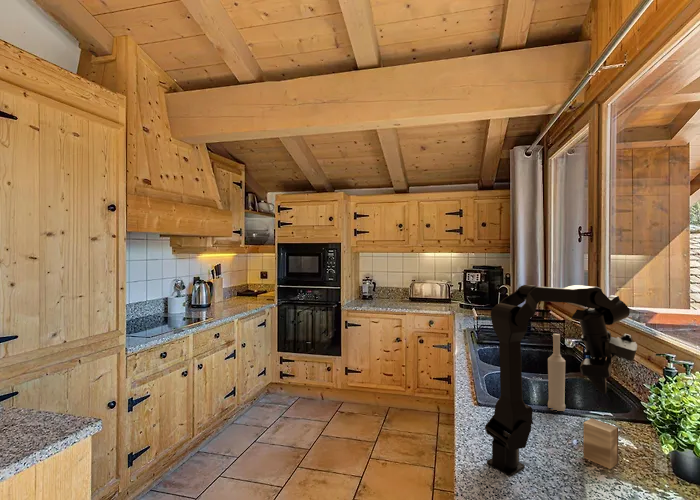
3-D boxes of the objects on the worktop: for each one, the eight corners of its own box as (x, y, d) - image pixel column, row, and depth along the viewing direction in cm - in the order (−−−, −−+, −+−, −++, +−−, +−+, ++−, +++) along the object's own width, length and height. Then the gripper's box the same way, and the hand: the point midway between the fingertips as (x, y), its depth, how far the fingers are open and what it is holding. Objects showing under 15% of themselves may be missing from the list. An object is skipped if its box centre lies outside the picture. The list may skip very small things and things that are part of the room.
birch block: (610, 469, 90) (610, 432, 90) (583, 457, 95) (583, 422, 95) (618, 463, 92) (618, 427, 92) (591, 452, 97) (591, 418, 97)
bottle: (544, 406, 125) (544, 333, 125) (555, 404, 127) (555, 332, 127) (557, 413, 121) (557, 336, 121) (569, 410, 122) (569, 335, 122)
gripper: (627, 346, 87) (640, 407, 88) (634, 317, 101) (645, 371, 102) (574, 344, 95) (586, 401, 96) (587, 318, 108) (598, 367, 110)
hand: (606, 384), depth 101 cm, fingers open, 9 cm apart
